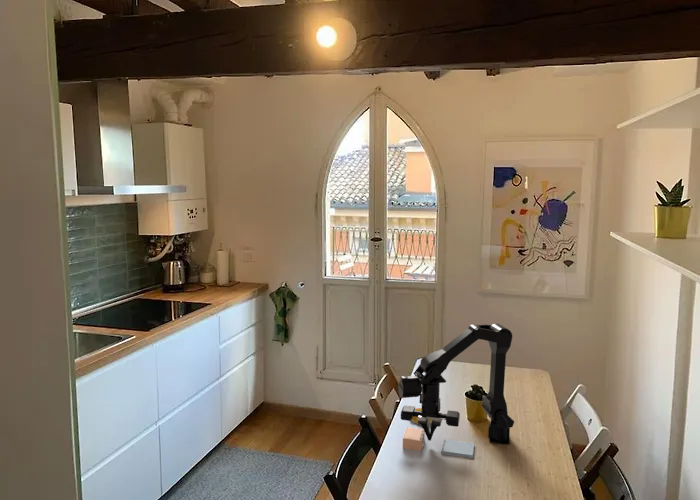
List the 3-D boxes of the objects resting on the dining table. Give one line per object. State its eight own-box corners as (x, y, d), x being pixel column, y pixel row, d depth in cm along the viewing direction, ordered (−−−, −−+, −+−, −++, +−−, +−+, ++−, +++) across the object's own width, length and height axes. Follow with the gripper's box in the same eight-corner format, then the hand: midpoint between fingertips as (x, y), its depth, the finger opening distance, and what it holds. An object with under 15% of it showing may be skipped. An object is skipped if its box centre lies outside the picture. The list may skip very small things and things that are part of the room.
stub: (424, 439, 184) (424, 429, 183) (420, 450, 176) (421, 440, 176) (406, 436, 185) (407, 426, 185) (402, 448, 178) (402, 437, 177)
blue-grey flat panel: (474, 446, 179) (474, 442, 179) (472, 458, 172) (472, 454, 172) (443, 441, 182) (443, 438, 182) (440, 453, 174) (441, 450, 174)
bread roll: (424, 428, 192) (424, 418, 191) (405, 419, 199) (405, 409, 198) (439, 421, 197) (439, 411, 197) (420, 413, 204) (421, 403, 203)
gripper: (461, 388, 182) (460, 432, 184) (406, 382, 187) (406, 425, 189) (458, 402, 171) (457, 448, 174) (400, 395, 176) (400, 440, 179)
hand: (429, 440), depth 179 cm, fingers closed
